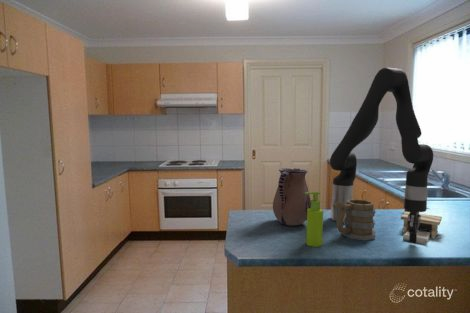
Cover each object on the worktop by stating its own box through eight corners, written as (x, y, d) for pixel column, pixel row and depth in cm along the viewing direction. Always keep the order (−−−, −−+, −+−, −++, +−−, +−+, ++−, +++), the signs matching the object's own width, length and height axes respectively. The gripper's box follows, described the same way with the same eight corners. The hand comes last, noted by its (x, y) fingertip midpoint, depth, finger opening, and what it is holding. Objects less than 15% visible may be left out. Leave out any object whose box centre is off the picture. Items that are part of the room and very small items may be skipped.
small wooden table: (438, 238, 132) (439, 222, 131) (399, 231, 140) (400, 216, 139) (440, 232, 141) (441, 216, 140) (404, 225, 149) (405, 211, 148)
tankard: (360, 229, 143) (361, 195, 142) (382, 238, 131) (384, 201, 130) (321, 233, 136) (322, 198, 135) (341, 243, 124) (342, 205, 123)
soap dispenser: (301, 241, 126) (303, 190, 125) (318, 241, 127) (320, 190, 125) (306, 246, 121) (307, 193, 119) (324, 246, 121) (326, 193, 119)
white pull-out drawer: (426, 244, 125) (426, 238, 125) (403, 240, 129) (403, 234, 129) (430, 234, 137) (431, 229, 137) (409, 231, 141) (409, 225, 141)
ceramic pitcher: (314, 220, 155) (316, 168, 153) (304, 233, 136) (305, 173, 134) (278, 216, 163) (280, 166, 160) (264, 227, 143) (265, 171, 141)
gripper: (424, 202, 115) (421, 249, 117) (429, 196, 126) (426, 240, 127) (401, 199, 120) (398, 245, 121) (407, 193, 130) (404, 236, 132)
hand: (412, 242), depth 124 cm, fingers closed
